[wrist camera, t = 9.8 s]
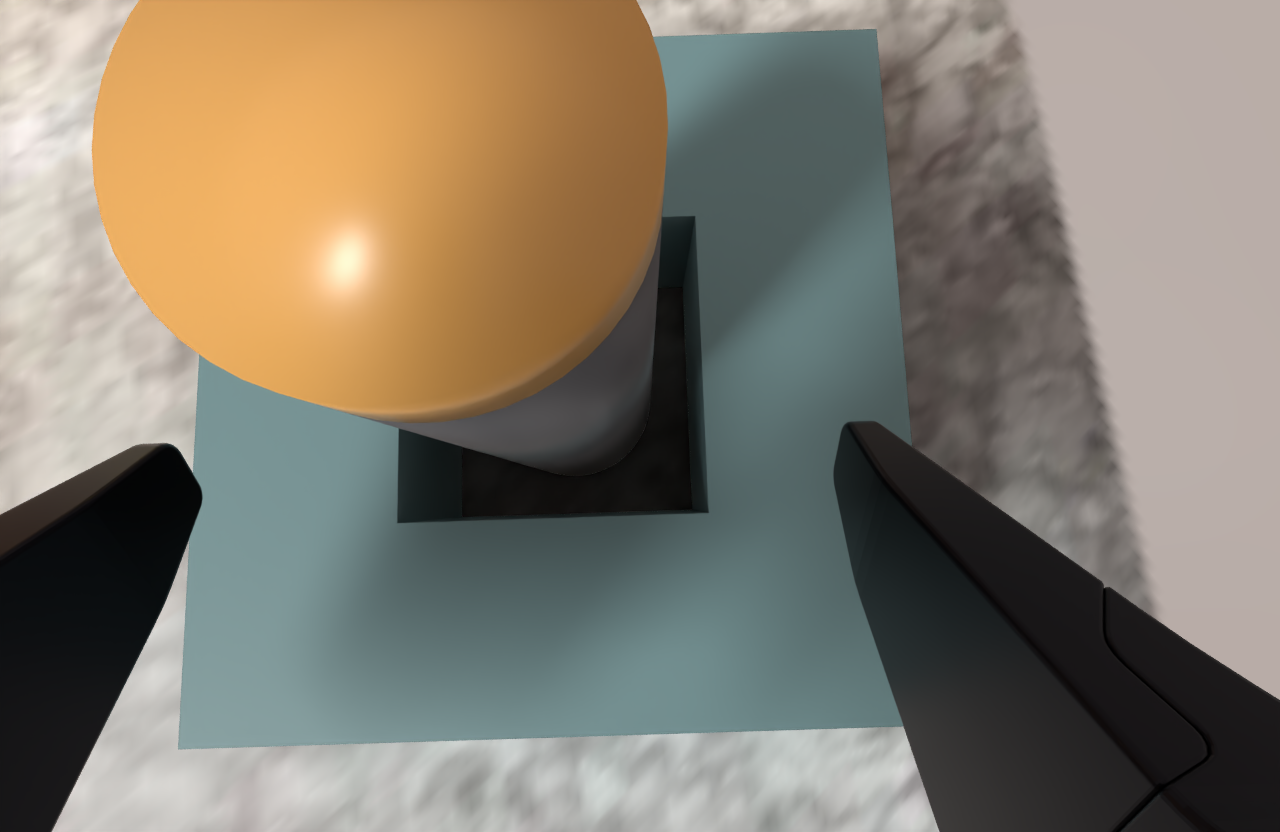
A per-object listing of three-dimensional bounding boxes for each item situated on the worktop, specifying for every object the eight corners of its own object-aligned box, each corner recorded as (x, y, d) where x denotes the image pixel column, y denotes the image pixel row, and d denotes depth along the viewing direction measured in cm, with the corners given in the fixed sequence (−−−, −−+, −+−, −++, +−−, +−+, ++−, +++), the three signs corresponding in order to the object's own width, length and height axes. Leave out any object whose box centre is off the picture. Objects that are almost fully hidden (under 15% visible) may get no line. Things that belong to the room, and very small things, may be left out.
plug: (584, 507, 17) (404, 531, 4) (469, 411, 17) (-29, 161, 5) (680, 390, 17) (784, 80, 5) (565, 298, 18) (360, -231, 5)
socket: (857, 664, 17) (935, 725, 12) (303, 681, 17) (178, 749, 12) (819, 143, 18) (876, 29, 14) (320, 161, 18) (215, 52, 14)
